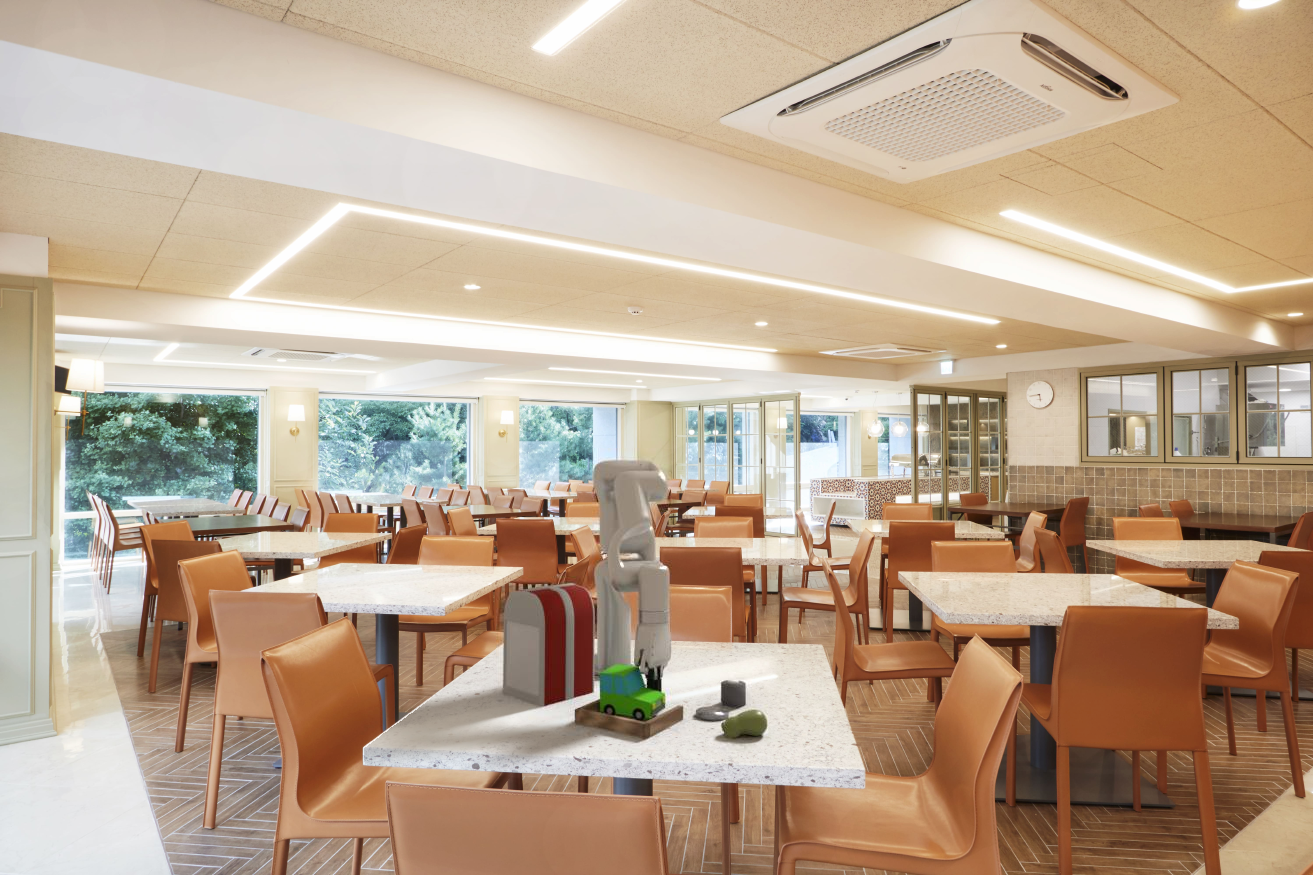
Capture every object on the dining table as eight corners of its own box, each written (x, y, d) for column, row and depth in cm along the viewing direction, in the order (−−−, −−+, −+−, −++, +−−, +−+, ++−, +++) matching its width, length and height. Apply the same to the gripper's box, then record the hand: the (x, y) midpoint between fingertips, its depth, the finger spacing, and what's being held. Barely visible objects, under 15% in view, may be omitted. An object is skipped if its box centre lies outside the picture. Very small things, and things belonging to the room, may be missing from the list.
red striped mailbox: (596, 692, 197) (596, 586, 198) (541, 707, 184) (542, 593, 186) (554, 680, 208) (555, 579, 210) (500, 693, 196) (502, 586, 197)
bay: (574, 722, 173) (574, 709, 173) (613, 705, 186) (613, 692, 186) (647, 738, 162) (647, 724, 163) (683, 719, 175) (683, 706, 175)
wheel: (716, 705, 186) (716, 681, 187) (727, 698, 192) (727, 676, 192) (739, 709, 183) (738, 685, 184) (749, 702, 188) (749, 679, 189)
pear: (768, 712, 163) (722, 721, 162) (772, 736, 163) (726, 746, 162) (761, 703, 169) (717, 713, 167) (765, 727, 169) (721, 737, 167)
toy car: (649, 725, 171) (649, 680, 171) (597, 717, 176) (597, 673, 177) (668, 711, 180) (668, 668, 180) (618, 704, 186) (618, 663, 186)
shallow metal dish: (689, 717, 177) (689, 712, 177) (705, 708, 183) (705, 704, 183) (719, 722, 173) (719, 718, 173) (734, 713, 179) (734, 709, 179)
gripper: (656, 611, 191) (657, 686, 190) (623, 620, 179) (623, 700, 178) (683, 613, 187) (683, 690, 186) (650, 623, 175) (650, 705, 174)
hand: (654, 695), depth 182 cm, fingers closed
